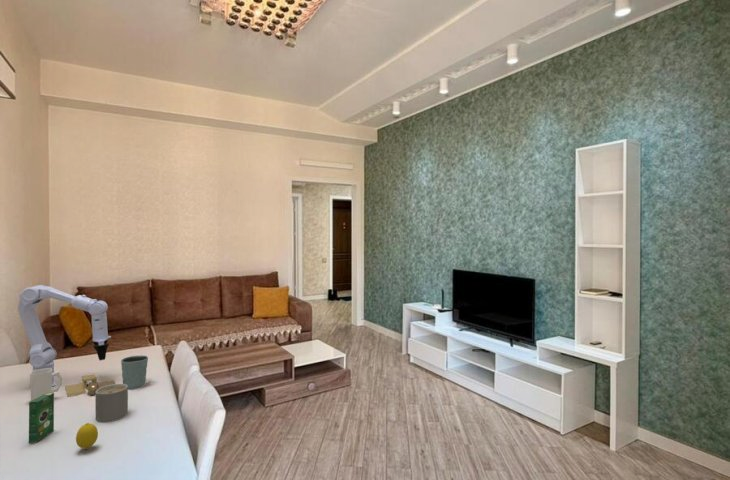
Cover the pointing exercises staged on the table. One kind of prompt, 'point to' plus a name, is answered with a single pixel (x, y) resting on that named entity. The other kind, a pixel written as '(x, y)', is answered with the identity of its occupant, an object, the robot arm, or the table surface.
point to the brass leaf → (79, 386)
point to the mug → (43, 382)
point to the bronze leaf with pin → (97, 386)
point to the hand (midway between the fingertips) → (101, 357)
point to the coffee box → (41, 417)
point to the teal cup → (134, 371)
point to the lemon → (86, 436)
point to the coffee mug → (111, 402)
